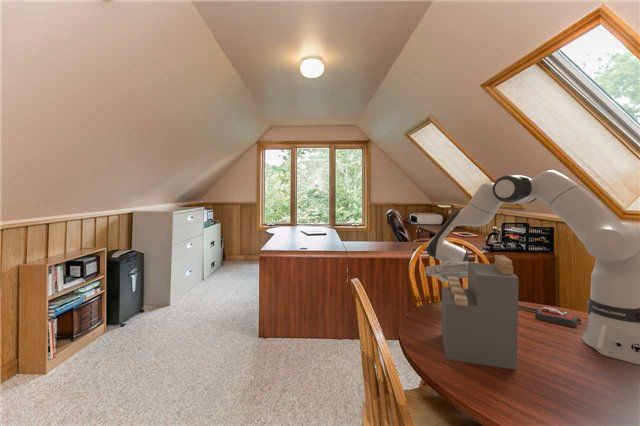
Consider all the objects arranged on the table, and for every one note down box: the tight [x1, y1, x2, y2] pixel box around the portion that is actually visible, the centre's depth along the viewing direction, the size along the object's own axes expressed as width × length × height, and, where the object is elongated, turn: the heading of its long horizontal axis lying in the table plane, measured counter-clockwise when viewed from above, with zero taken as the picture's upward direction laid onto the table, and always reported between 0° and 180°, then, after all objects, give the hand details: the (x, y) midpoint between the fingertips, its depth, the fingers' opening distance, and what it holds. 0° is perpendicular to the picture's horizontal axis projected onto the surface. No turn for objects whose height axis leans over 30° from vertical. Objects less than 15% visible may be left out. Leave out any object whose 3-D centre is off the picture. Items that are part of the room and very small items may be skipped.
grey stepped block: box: [441, 254, 520, 371], centre depth 89 cm, size 16×18×30 cm
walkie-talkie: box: [518, 304, 582, 328], centre depth 113 cm, size 9×4×20 cm
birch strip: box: [447, 275, 468, 306], centre depth 95 cm, size 26×3×2 cm, turn 161°
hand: (454, 267), depth 113 cm, fingers open, 8 cm apart
